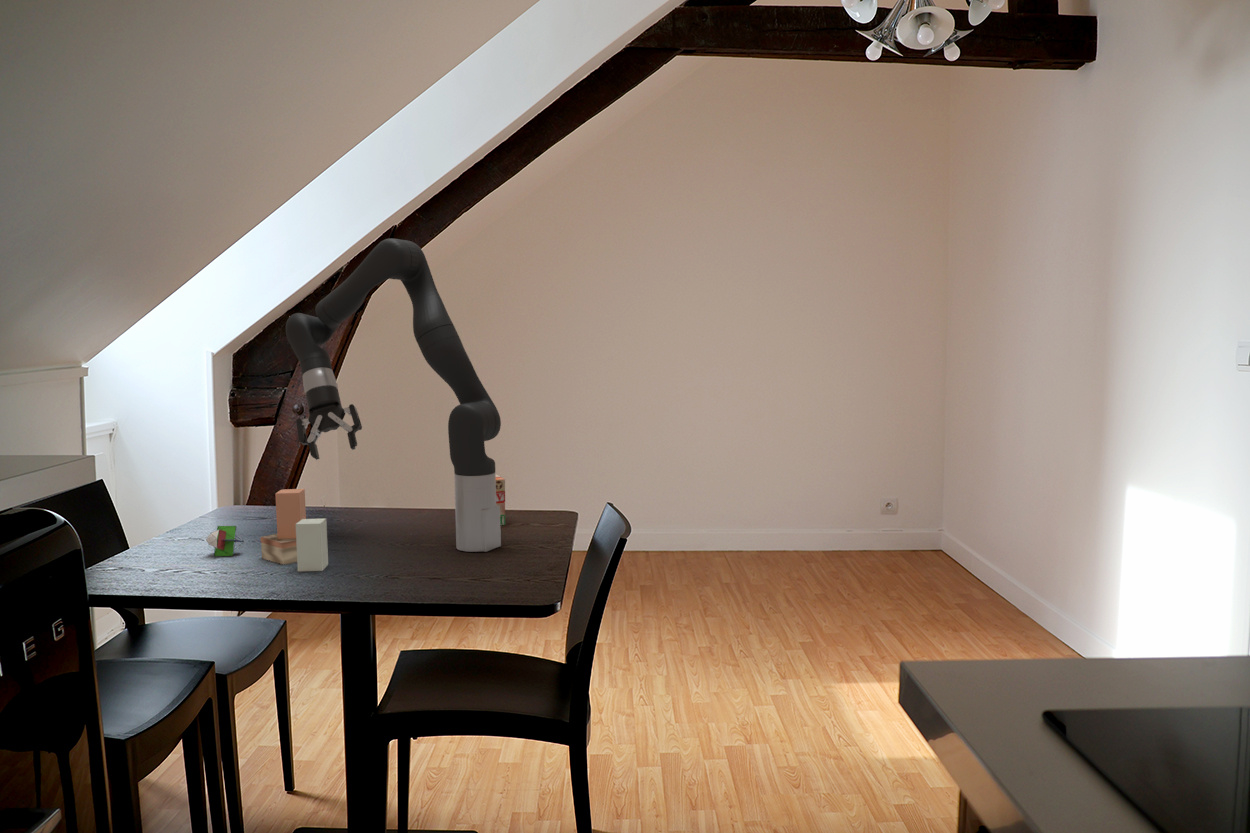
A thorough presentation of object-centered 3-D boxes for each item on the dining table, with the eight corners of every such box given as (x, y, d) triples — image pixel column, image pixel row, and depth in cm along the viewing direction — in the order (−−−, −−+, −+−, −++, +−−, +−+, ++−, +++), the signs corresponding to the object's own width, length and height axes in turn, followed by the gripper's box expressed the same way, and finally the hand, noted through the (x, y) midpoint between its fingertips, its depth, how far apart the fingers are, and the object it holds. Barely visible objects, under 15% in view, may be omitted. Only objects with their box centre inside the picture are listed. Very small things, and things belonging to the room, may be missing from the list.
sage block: (328, 564, 195) (326, 518, 194) (322, 570, 190) (320, 523, 189) (304, 565, 195) (302, 519, 194) (297, 571, 190) (295, 524, 189)
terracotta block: (306, 532, 204) (304, 488, 203) (301, 538, 199) (299, 492, 198) (283, 533, 203) (281, 489, 202) (277, 539, 198) (275, 493, 197)
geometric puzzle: (221, 539, 209) (209, 516, 204) (251, 539, 209) (239, 516, 204) (210, 564, 204) (198, 542, 199) (240, 564, 204) (229, 541, 198)
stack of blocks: (459, 513, 248) (457, 468, 247) (481, 511, 251) (480, 466, 250) (482, 528, 229) (481, 480, 228) (506, 526, 232) (505, 478, 231)
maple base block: (321, 557, 202) (320, 535, 202) (283, 566, 195) (281, 543, 195) (299, 551, 208) (298, 529, 207) (261, 559, 201) (260, 537, 201)
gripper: (286, 393, 213) (299, 457, 209) (346, 377, 215) (361, 440, 210) (296, 403, 221) (309, 466, 216) (354, 388, 222) (369, 449, 218)
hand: (335, 453), depth 213 cm, fingers open, 8 cm apart
